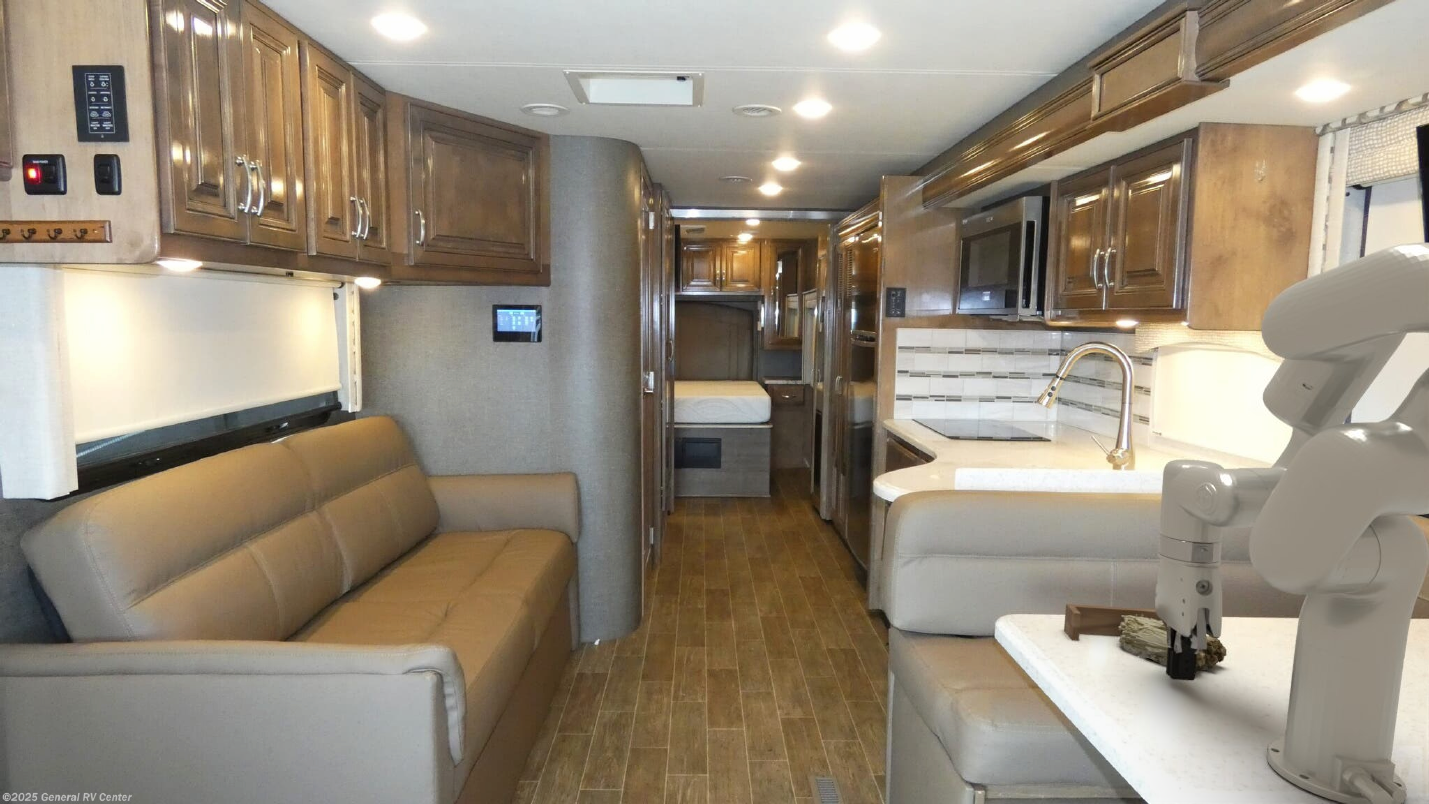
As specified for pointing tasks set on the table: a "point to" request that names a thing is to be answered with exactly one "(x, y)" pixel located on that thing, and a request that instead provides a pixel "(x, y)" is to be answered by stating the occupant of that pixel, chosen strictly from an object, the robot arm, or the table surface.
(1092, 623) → the stand
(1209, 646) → the beige fibrous lump
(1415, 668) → the table surface
